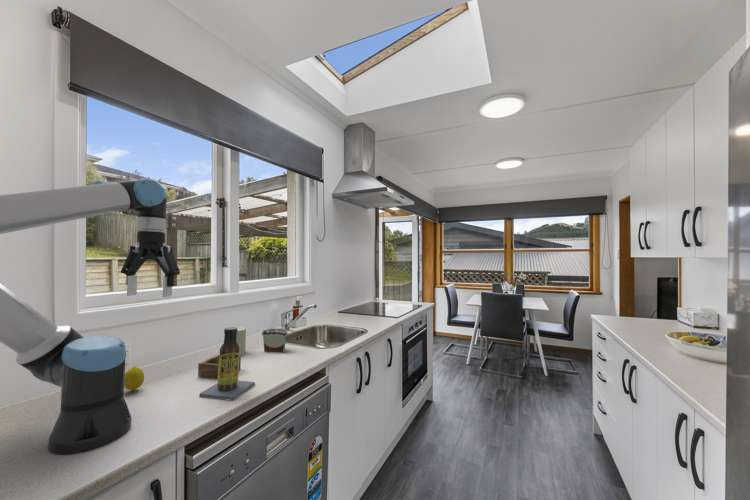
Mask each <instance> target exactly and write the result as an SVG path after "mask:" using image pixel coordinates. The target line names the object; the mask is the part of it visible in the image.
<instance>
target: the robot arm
mask: <svg viewBox="0 0 750 500" xmlns="http://www.w3.org/2000/svg"><path fill="white" fill-rule="evenodd" d="M167 195H168V193H167V187H165V186H164V185H162V183H160V182H159V181H157V180H156V179H153V178H145V177H144V178H143V177H142V178H137V179H133V180H124V181H114V182H113V181H112V182H111V181H108V180H106V181H105V180H95V181H93V182H92V184H88V185H87V184H86V185H79V186H72V187H71V186H70V187H62V188H55V189H54V188H52V189H45V190H44V189H43V190H37V191H35V190H34V191H28V192H19V193H9V194H3V195H2V194H0V235H2V234H3V235H4V234H8V233H13V232H18V231H23V230H28V229H34V228H38V227H39V228H40V227H45V226H49V225H55V224H59V223H60V224H61V223H66V222H69V221H70V222H71V221H75V220H80V219H85V218H91V217H97V216H101V215H102V216H103V215H106V214H107V215H109V214H112V213H117V212H122V211H123V212H124V211H133V212H137V225H136V227H137V228H136V229H137V230H138V231H137V232H136V235H137V236H136V243H139V245H130V247H129V253H128V254H127V257H126V259H125V261H124V263H123V265H122V267H121V269H120V274H124V275H125V276H126V281H125V282H126V283H125V284H126V296H129V297H130V296H137V294H138V293H137V292H138V291H137V289H138V274H137V273H138V271H139V270H140V268H141V267H142V266H143V265H144V263H145V262H146V261H148V260H151V261H155V262H156V263H157V265H158V267H159V268H160V269H161V271H162V272H163V274H164V276H163V277H162V278H163V279H162V280H163V281H162V298H171V297H172V296H173V286H174V284H175V282H174V281H175V279H174V278H175V276H177V275H180V274H181V271H180V268H179V265H178V263H177V261H176V258H175V256H174V253H173V246H171V245H164V244H166V233H165V231H166V224H167V223H166V218H167V204H168V203H167V202H168V196H167ZM0 343H2V344H3V345H4V346H6V347H7V348H9V349H11V350H12V351H13V352H15V353H16V357H15V362H16V363H17V364H18V365H20V366H21V367H23V368H25V369H26V370H28V371H29V372H30V373H31V374H32V376H33V377H34V378H36V379H38V380H40V381H43V382H45V383H49V384H52V385H55V386H58V387H60V388H61V390H60V391H61V393H60V412H59V415H58V417H57V419H56V421H55V424H54V426H53V429H52V431H51V433H50V434H49V437H48V446H47V448H48V451H49V453H50V452H51V454H56V455H69V454H70V455H71V454H77V453H81V452H82V453H83V452H86V451H90V450H93V449H96V448H100V447H103V446H105V445H107V444H110V443H112V442H113V441H115V440H117V439H120V438H121V437H122V436H124V435H125V434H126V433H127V432H128V431H130V430H131V427H132V414H131V412H130V409H129V407H128V405H127V402H126V399H125V387H124V380H125V373H126V358H127V351H126V343H125V341H124V340H123V339H121V338H119V337H116V336H109V335H108V336H104V335H97V336H94V335H93V336H87V337H84V336H83V335H82V334H80V333H79V332H77V330H75V329H74V328H73V327H71V326H70V325H68V324H60V325H59V324H58V325H57V324H56V323H54V322H52V320H50V319H49V318H47V317H46V316H45V315H43V314H42V313H41V312H39V311H38V310H37V309H35V308H34V307H33V306H31V304H29V303H28V302H26V301H25V300H24V299H22V298H21V297H20V296H18V295H17V294H16V293H14V292H13V291H12V290H11V289H9V288H8V287H6V286H5V285H4V284H2V283H1V282H0Z"/></svg>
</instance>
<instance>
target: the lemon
mask: <svg viewBox="0 0 750 500" xmlns="http://www.w3.org/2000/svg"><path fill="white" fill-rule="evenodd" d="M144 380H145V373H144V371H143V369H142V368H141V367H136V366H133V367H131V368H129V369H127V370H126V371H125V380H124V389H126V390H129V391H132V392H135V391H136V390H137V389H139V388H140V387H142V385H143V383H144V382H145V381H144Z"/></svg>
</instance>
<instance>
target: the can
mask: <svg viewBox="0 0 750 500" xmlns="http://www.w3.org/2000/svg"><path fill="white" fill-rule="evenodd" d="M236 327H237V335H236V339H237V340H236V342H237V344H238V345H239V357H241V356H243V355H245V354H246V340H247V339H246V336H247V335H246V334H247V328H246V327H245V326H236Z"/></svg>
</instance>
